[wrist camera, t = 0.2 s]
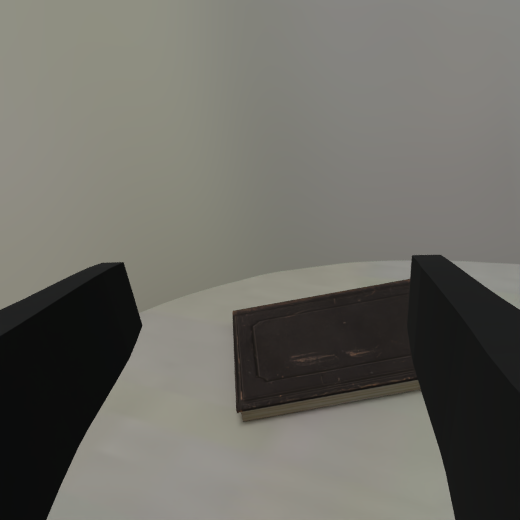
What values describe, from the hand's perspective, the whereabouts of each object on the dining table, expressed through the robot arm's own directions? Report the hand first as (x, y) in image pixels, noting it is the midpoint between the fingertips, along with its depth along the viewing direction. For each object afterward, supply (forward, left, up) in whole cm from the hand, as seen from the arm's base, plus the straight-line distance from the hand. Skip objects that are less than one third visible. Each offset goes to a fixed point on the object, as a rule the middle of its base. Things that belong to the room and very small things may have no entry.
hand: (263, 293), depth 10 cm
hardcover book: (+26, -2, -22) cm, 34 cm away
